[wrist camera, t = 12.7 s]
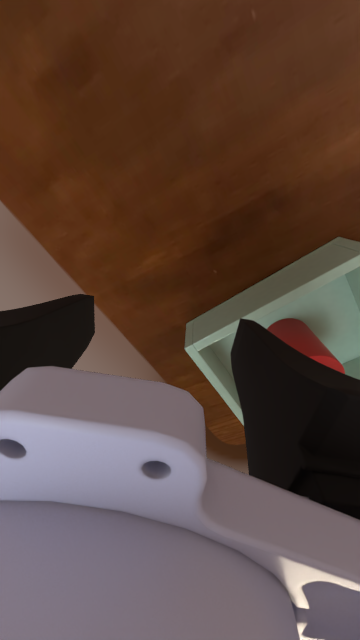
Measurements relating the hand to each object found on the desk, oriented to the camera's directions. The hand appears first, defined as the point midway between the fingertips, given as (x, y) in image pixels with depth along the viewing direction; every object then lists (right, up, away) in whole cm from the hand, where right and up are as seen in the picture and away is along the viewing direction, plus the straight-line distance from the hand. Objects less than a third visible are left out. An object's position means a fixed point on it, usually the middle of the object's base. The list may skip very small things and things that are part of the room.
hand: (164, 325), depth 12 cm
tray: (+11, -1, +12) cm, 16 cm away
